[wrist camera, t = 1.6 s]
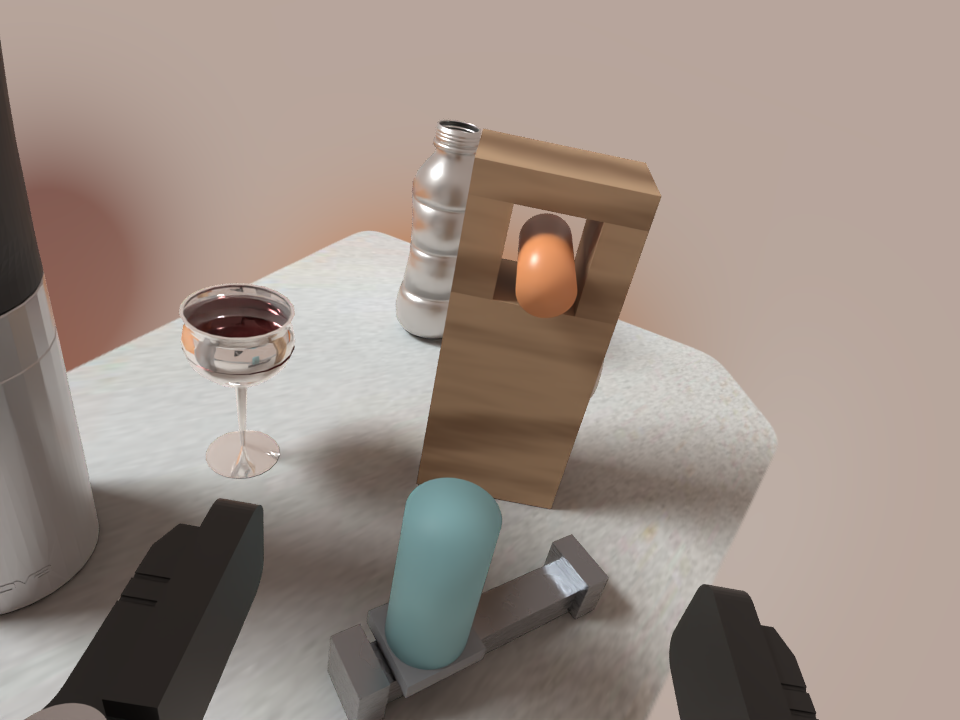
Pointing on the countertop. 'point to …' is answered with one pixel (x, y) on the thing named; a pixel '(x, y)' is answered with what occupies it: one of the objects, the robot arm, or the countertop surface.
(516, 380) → the wooden window block
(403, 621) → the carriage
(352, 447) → the countertop surface
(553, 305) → the plunger
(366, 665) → the rail
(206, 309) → the wineglass
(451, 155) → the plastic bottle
